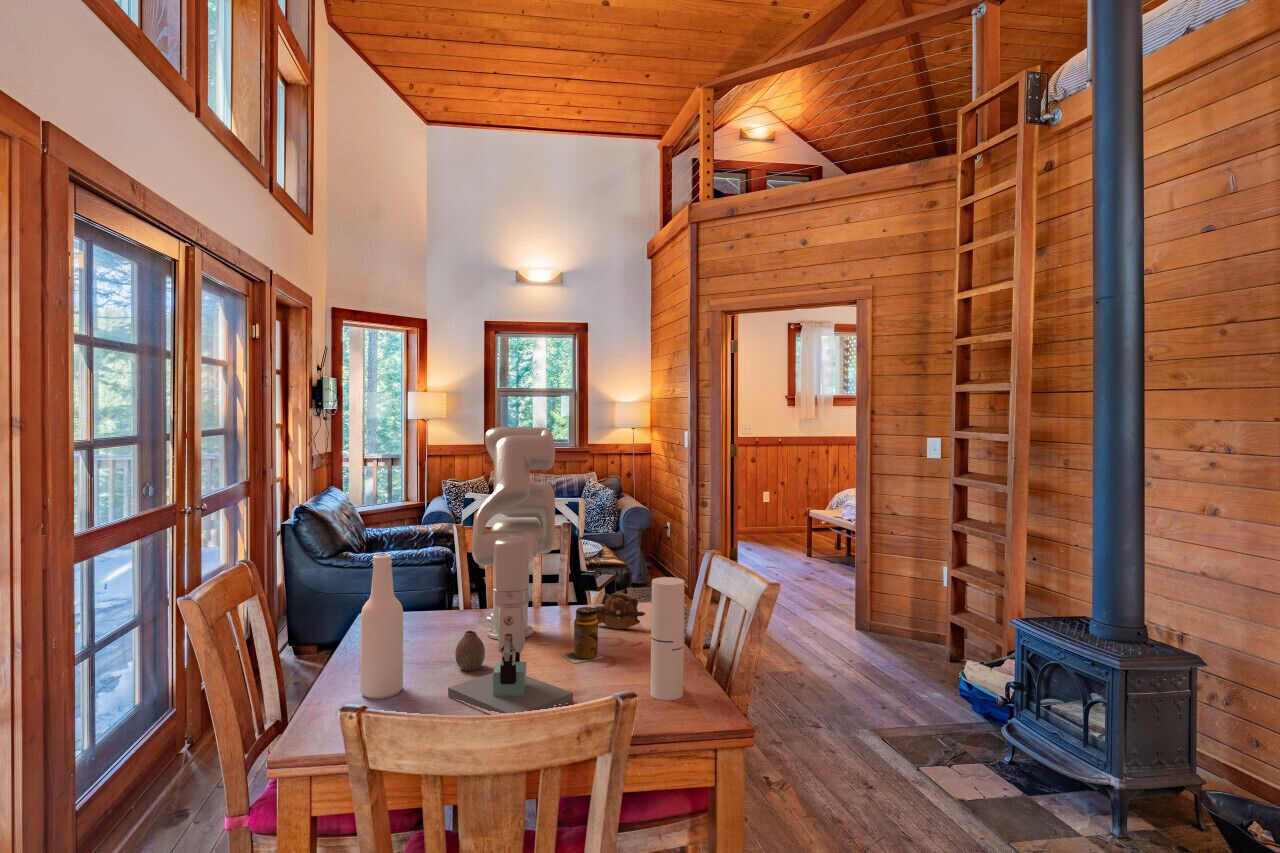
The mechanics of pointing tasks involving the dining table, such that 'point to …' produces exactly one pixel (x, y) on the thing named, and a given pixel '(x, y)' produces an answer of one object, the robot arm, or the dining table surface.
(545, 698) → the post base
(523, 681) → the seafoam cuboid
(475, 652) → the vase
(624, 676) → the dining table surface
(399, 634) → the alcohol
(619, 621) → the wooden carving
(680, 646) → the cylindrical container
